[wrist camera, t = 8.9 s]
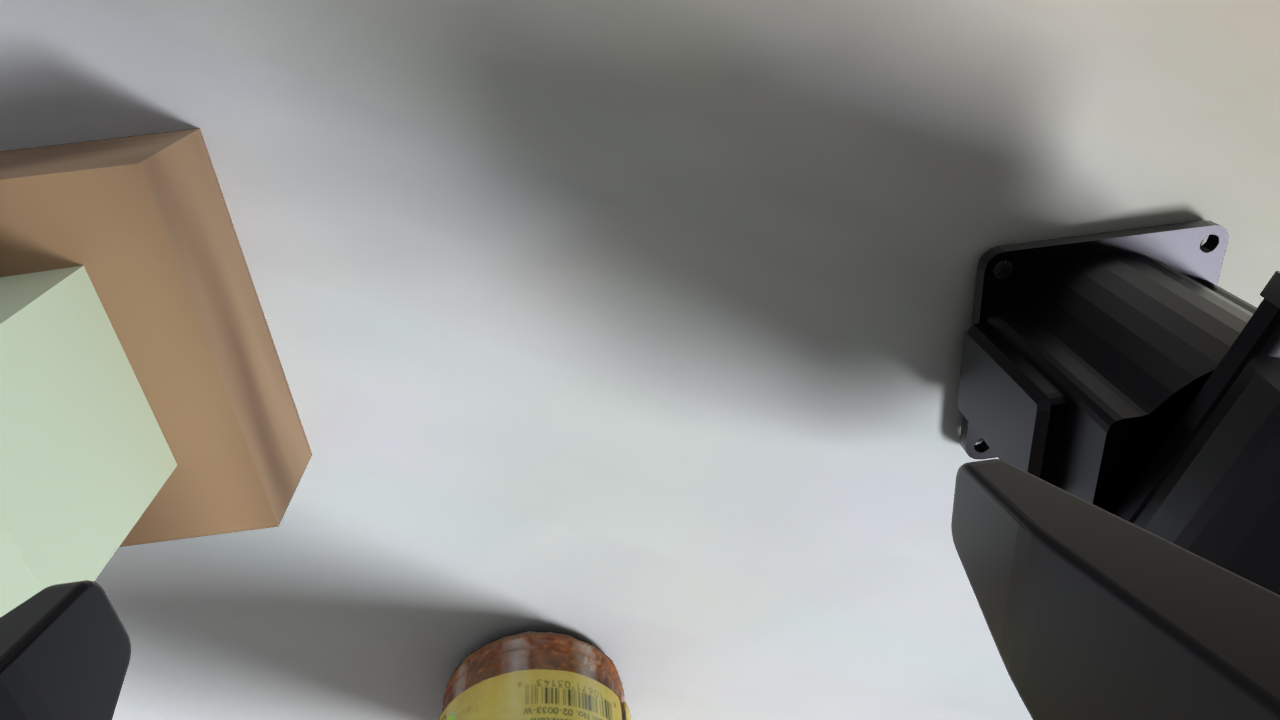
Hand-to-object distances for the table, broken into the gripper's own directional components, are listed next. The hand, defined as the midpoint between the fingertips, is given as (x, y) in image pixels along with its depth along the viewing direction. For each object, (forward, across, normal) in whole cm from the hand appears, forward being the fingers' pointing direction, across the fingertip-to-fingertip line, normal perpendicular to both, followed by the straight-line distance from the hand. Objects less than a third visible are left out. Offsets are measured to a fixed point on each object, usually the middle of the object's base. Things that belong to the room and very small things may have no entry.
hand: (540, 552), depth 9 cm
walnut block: (+13, +12, +2) cm, 18 cm away
